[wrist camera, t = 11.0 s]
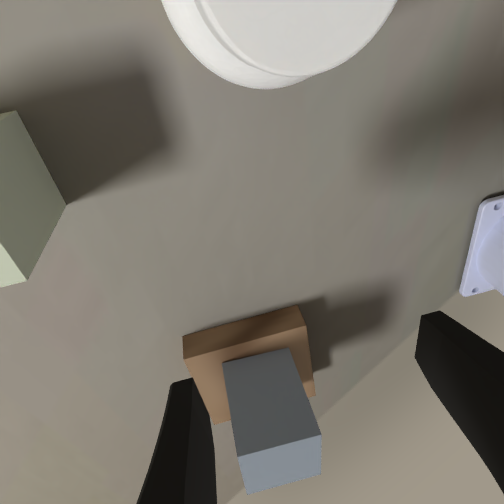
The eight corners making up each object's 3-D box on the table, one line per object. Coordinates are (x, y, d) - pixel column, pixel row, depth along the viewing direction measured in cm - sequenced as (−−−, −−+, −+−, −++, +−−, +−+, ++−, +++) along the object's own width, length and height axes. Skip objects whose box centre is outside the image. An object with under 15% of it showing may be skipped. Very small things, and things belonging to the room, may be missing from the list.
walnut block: (294, 299, 25) (306, 325, 23) (305, 368, 29) (315, 395, 27) (182, 330, 24) (183, 359, 22) (211, 395, 29) (214, 424, 27)
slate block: (288, 347, 24) (321, 434, 19) (291, 388, 26) (320, 474, 21) (221, 363, 23) (237, 457, 18) (231, 403, 26) (247, 494, 21)
